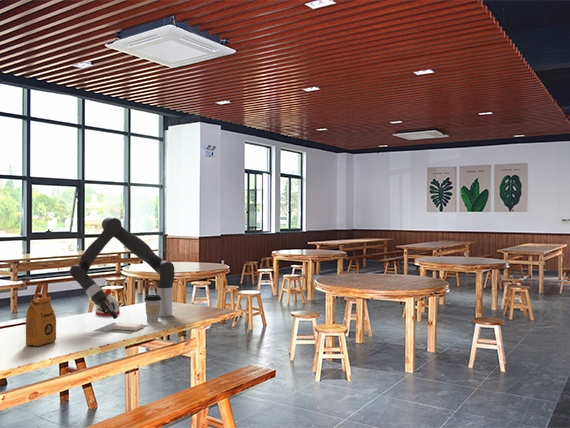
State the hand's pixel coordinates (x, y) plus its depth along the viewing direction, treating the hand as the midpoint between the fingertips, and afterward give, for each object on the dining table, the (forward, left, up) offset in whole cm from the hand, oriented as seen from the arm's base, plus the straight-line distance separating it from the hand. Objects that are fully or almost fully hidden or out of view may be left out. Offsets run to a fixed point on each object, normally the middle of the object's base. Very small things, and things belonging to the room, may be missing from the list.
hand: (116, 317), depth 276 cm
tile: (0, 0, -4) cm, 4 cm away
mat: (+2, +2, -6) cm, 7 cm away
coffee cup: (-8, +21, -6) cm, 24 cm away
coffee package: (+17, -38, -6) cm, 42 cm away
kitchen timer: (-43, +2, -6) cm, 43 cm away
